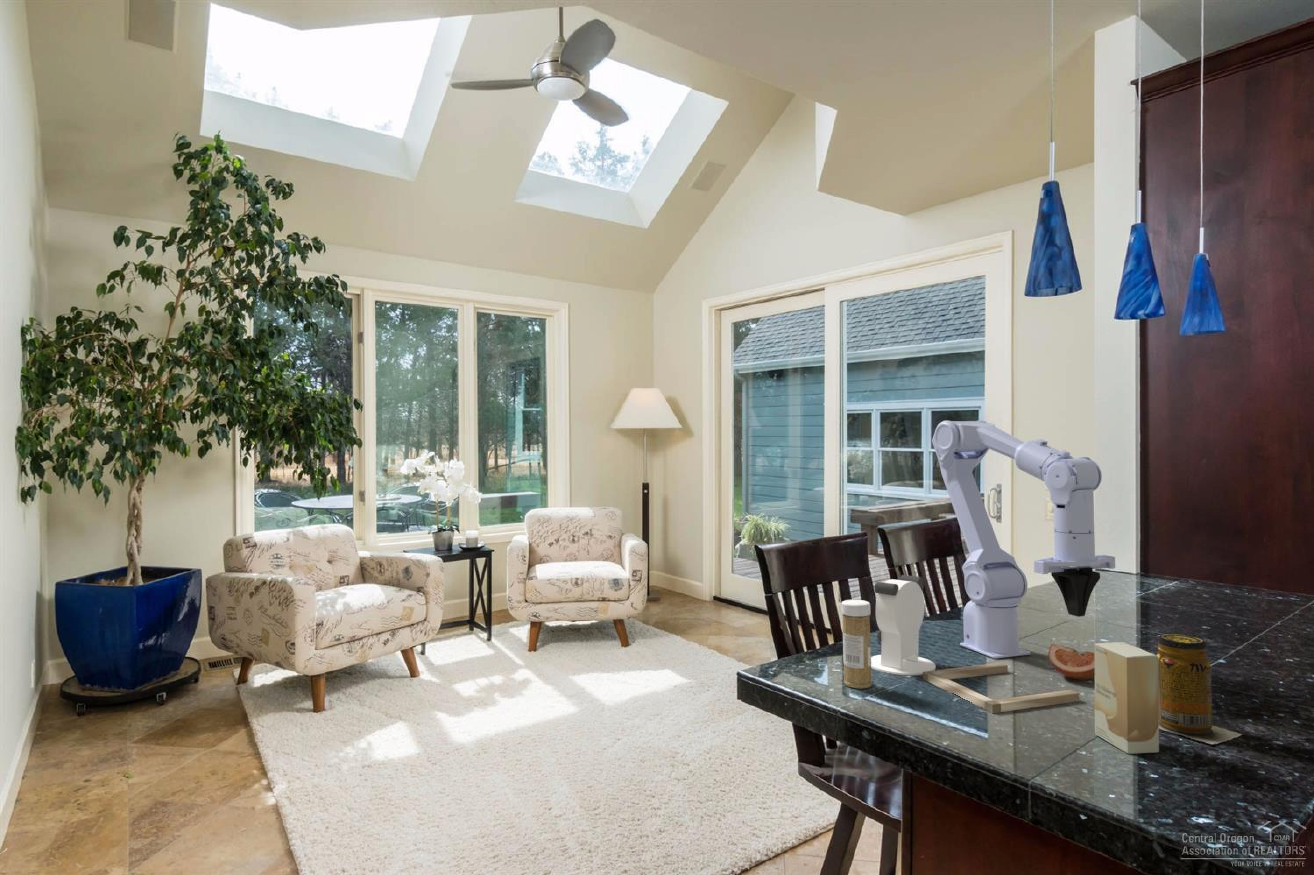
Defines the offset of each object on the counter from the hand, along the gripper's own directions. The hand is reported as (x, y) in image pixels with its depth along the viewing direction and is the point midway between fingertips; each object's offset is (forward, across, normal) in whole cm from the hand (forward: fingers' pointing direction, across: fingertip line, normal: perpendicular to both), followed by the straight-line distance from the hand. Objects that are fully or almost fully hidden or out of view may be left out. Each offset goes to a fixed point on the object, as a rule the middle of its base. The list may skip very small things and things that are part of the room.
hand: (1076, 615), depth 117 cm
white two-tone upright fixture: (+11, -22, +16) cm, 29 cm away
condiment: (+11, -3, -21) cm, 24 cm away
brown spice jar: (+11, -35, +9) cm, 38 cm away
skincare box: (+11, -15, -22) cm, 29 cm away
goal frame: (+10, -15, 0) cm, 18 cm away
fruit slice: (+11, 0, 0) cm, 11 cm away
